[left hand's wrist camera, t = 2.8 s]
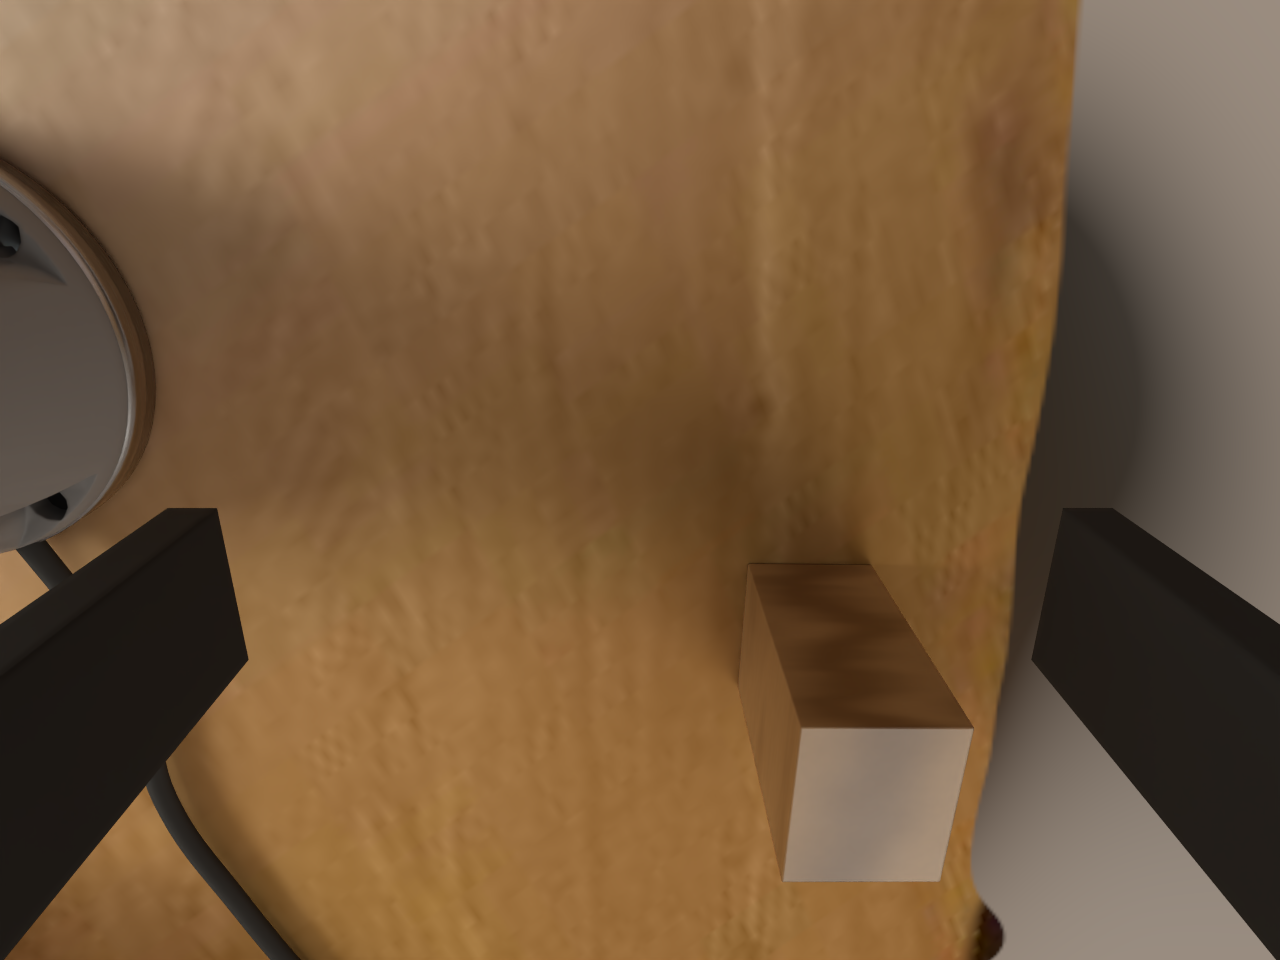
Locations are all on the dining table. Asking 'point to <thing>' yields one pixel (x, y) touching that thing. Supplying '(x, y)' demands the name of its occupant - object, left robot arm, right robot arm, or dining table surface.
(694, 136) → the dining table surface
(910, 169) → the dining table surface
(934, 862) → the block
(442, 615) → the dining table surface
